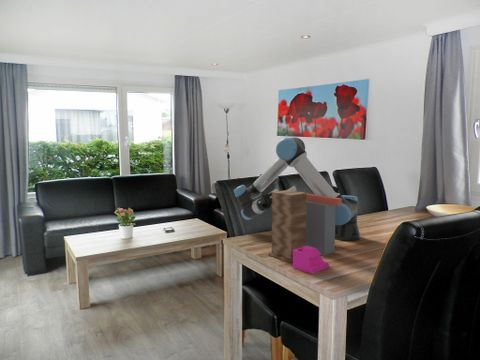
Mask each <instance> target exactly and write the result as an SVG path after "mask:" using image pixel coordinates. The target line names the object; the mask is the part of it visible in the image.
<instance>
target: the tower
mask: <svg viewBox="0 0 480 360" xmlns="http://www.w3.org/2000/svg"><path fill="white" fill-rule="evenodd" d="M307 194H308V193H307V192H303V191H290V190H288V189H285V190H278V191H277V192H272V204H271V251H270V252H269V253H268V256H269V257H272V258H275V259H278V260H282V261H284V262H288V263H291V264H293V250H295V249H298V248H303V247H304V246H306V196H307Z"/></svg>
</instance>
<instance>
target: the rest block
mask: <svg viewBox="0 0 480 360" xmlns="http://www.w3.org/2000/svg"><path fill="white" fill-rule="evenodd" d="M335 210H336V205H330V204H324V203H317V202H311V201H306V246H310V247H314V248H317V250H318V251H319V252H320V253H321V255H320V256H327V255H331V254H332V253H333V254H334V253H335V249H336V247H335V246H336V245H335V244H336V243H335V242H336V239H335Z"/></svg>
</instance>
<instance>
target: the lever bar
mask: <svg viewBox="0 0 480 360" xmlns="http://www.w3.org/2000/svg"><path fill="white" fill-rule="evenodd" d="M306 201H311V202H317V203H324V204H330V205H336V206H339V205H342V198H335V197H328V196H321V195H316V194H315V193H313V194H312V193H307V196H306Z"/></svg>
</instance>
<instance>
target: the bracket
mask: <svg viewBox="0 0 480 360" xmlns="http://www.w3.org/2000/svg"><path fill="white" fill-rule="evenodd" d="M321 256H322V255H321V253H320V252H319V251H318V250H317V248H314V247H310V246H304V247H303V248H298V249H295V250H293V263H292V269H293V268H294V269H297V270H299V271H303V272H306V273H307V274H308V273H310V274H315V273H317V272H320V271H322V270H326V269H328V268H330V264H329V262H328V261H324V260H323V258H322V257H321Z"/></svg>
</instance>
